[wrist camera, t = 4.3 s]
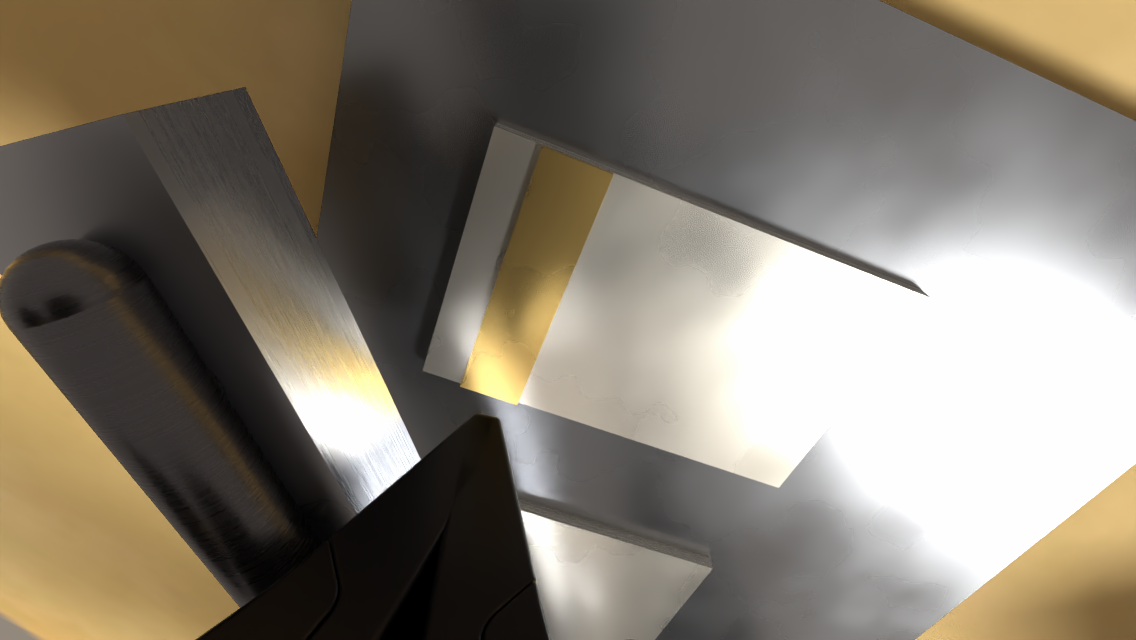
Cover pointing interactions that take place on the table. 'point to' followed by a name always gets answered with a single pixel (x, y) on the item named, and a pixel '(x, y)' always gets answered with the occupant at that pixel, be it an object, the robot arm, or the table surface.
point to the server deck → (741, 297)
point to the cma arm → (199, 329)
